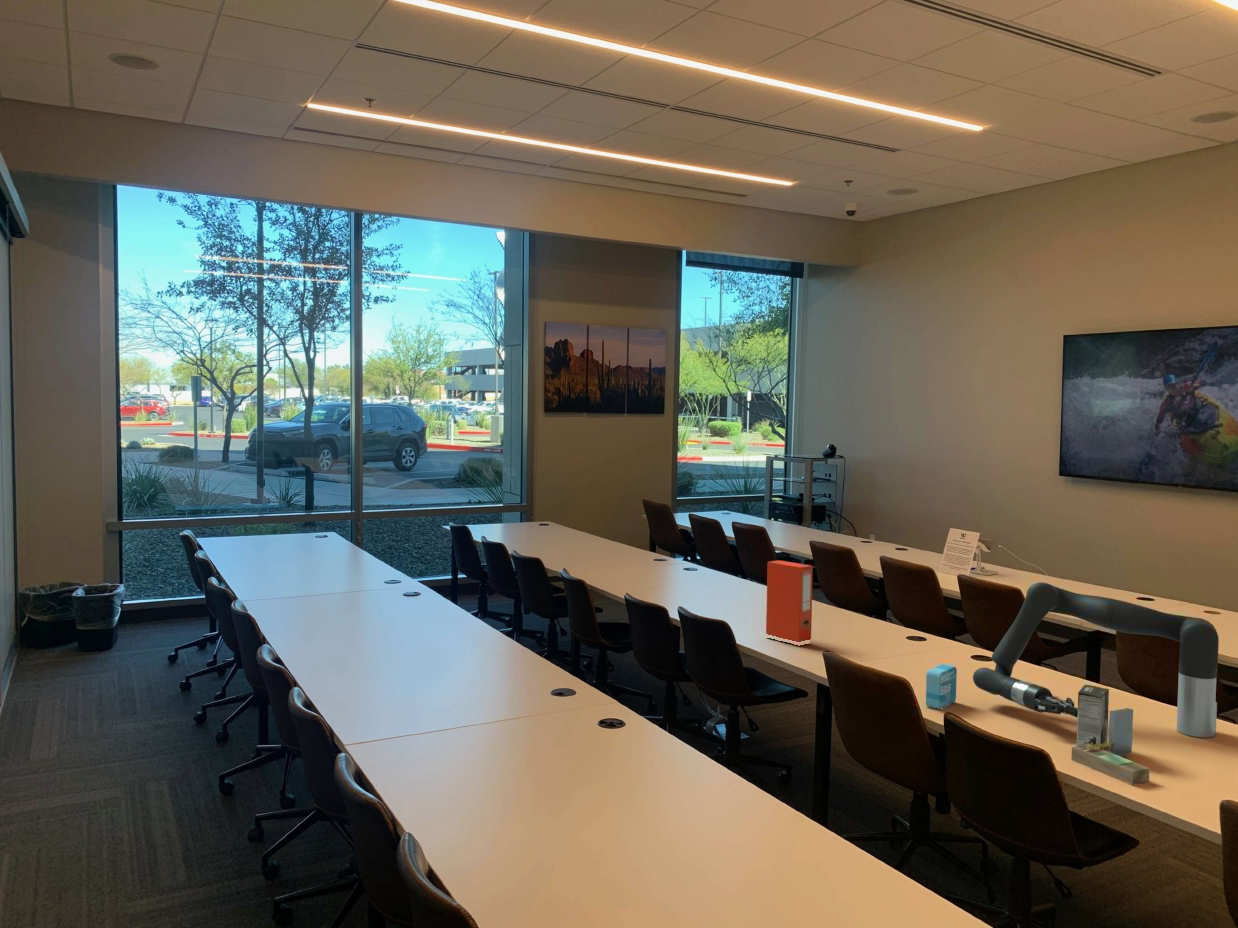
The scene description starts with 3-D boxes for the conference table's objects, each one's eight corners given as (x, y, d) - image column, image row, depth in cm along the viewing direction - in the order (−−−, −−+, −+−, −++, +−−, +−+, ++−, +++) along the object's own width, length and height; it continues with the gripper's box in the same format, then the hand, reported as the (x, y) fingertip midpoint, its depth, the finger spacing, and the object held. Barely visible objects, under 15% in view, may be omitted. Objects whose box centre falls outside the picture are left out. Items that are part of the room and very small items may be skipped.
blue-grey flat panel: (1126, 751, 243) (1128, 707, 242) (1131, 753, 242) (1133, 709, 241) (1085, 759, 237) (1086, 714, 237) (1090, 761, 236) (1091, 716, 235)
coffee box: (1082, 739, 255) (1084, 683, 254) (1108, 744, 251) (1110, 688, 250) (1075, 748, 248) (1077, 691, 247) (1101, 753, 244) (1103, 696, 243)
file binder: (778, 635, 374) (780, 559, 372) (811, 643, 361) (812, 565, 359) (765, 638, 369) (767, 561, 367) (798, 646, 356) (799, 567, 354)
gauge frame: (1087, 756, 242) (1088, 743, 242) (1148, 781, 225) (1149, 767, 225) (1071, 759, 240) (1071, 745, 239) (1132, 785, 223) (1132, 770, 223)
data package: (938, 710, 279) (939, 673, 278) (925, 707, 282) (926, 670, 282) (956, 702, 287) (957, 665, 287) (942, 699, 291) (943, 663, 290)
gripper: (1014, 686, 266) (1063, 703, 250) (1047, 681, 271) (1097, 698, 255) (1014, 710, 266) (1062, 729, 250) (1047, 705, 271) (1096, 723, 255)
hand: (1080, 713), depth 253 cm, fingers closed
